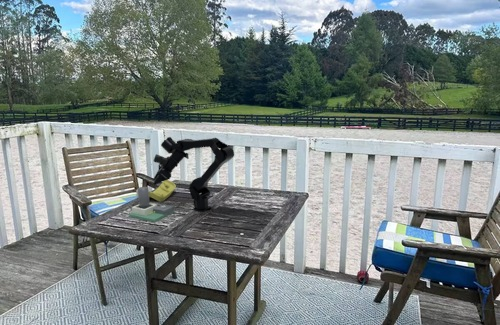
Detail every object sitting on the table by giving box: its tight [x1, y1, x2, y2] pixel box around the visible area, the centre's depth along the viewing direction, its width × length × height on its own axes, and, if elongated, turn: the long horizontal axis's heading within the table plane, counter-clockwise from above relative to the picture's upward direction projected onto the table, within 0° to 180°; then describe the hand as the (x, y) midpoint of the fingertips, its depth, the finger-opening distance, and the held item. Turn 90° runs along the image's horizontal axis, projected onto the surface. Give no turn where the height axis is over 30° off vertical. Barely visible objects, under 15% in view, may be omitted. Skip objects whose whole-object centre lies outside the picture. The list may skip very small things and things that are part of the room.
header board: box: [128, 202, 175, 223], centre depth 180 cm, size 16×14×4 cm
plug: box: [135, 186, 151, 209], centre depth 179 cm, size 6×5×12 cm
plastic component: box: [149, 179, 177, 203], centre depth 208 cm, size 20×7×10 cm
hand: (154, 181), depth 188 cm, fingers open, 9 cm apart
